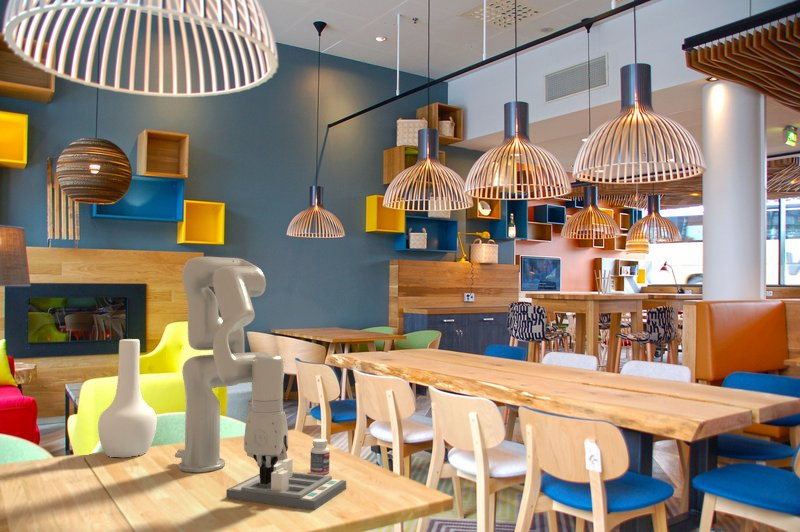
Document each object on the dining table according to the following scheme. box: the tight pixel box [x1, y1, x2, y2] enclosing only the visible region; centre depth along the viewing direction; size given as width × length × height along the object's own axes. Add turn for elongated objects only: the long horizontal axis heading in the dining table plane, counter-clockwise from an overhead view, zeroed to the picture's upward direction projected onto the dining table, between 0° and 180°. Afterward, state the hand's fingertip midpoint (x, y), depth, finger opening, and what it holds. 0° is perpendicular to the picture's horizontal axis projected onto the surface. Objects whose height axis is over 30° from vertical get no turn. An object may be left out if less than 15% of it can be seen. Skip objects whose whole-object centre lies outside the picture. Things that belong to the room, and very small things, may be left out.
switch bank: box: [225, 471, 347, 511], centre depth 157 cm, size 24×17×3 cm
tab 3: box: [271, 468, 289, 492], centre depth 152 cm, size 3×3×5 cm
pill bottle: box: [309, 438, 331, 476], centre depth 175 cm, size 5×5×9 cm
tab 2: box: [278, 455, 293, 478], centre depth 163 cm, size 3×3×5 cm
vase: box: [97, 338, 158, 458], centre depth 195 cm, size 17×17×35 cm
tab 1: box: [274, 462, 282, 471], centre depth 158 cm, size 3×3×5 cm
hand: (266, 482), depth 153 cm, fingers closed
